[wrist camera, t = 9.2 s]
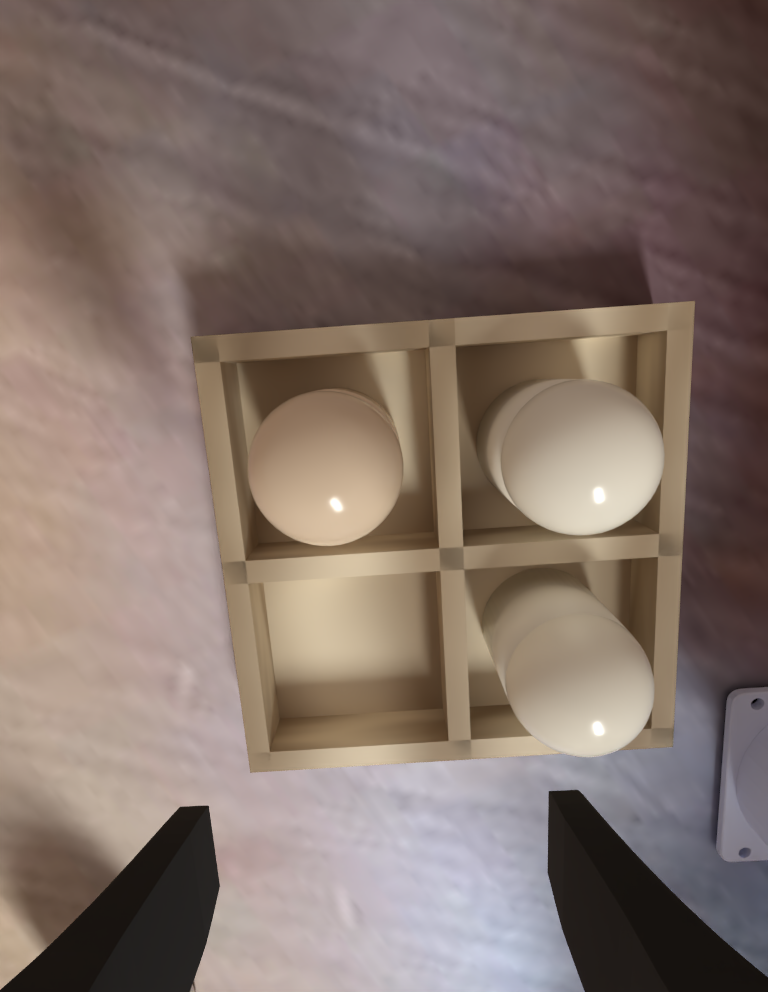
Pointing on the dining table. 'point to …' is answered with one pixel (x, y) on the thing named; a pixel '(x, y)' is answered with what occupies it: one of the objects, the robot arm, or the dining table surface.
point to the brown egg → (326, 466)
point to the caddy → (430, 533)
